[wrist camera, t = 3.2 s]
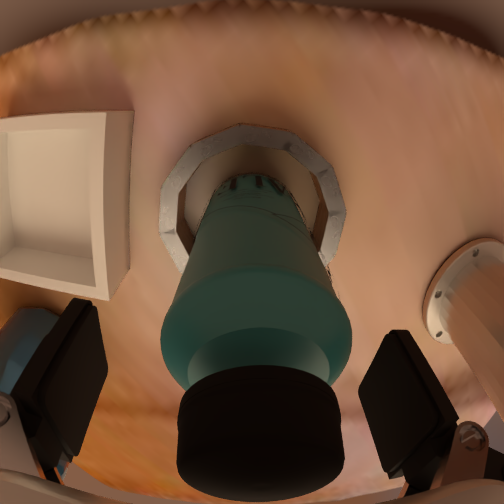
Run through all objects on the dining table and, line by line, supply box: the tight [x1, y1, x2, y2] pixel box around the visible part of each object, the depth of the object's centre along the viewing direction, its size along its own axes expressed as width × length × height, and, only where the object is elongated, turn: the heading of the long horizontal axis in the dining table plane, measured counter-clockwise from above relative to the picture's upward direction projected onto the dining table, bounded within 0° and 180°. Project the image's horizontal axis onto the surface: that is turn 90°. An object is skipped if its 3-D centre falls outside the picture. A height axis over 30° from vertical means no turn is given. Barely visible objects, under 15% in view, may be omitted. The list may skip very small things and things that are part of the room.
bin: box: [0, 110, 134, 301], centre depth 20 cm, size 13×13×5 cm
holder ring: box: [159, 123, 346, 275], centre depth 22 cm, size 12×12×3 cm
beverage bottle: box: [160, 173, 352, 502], centre depth 15 cm, size 6×7×20 cm
